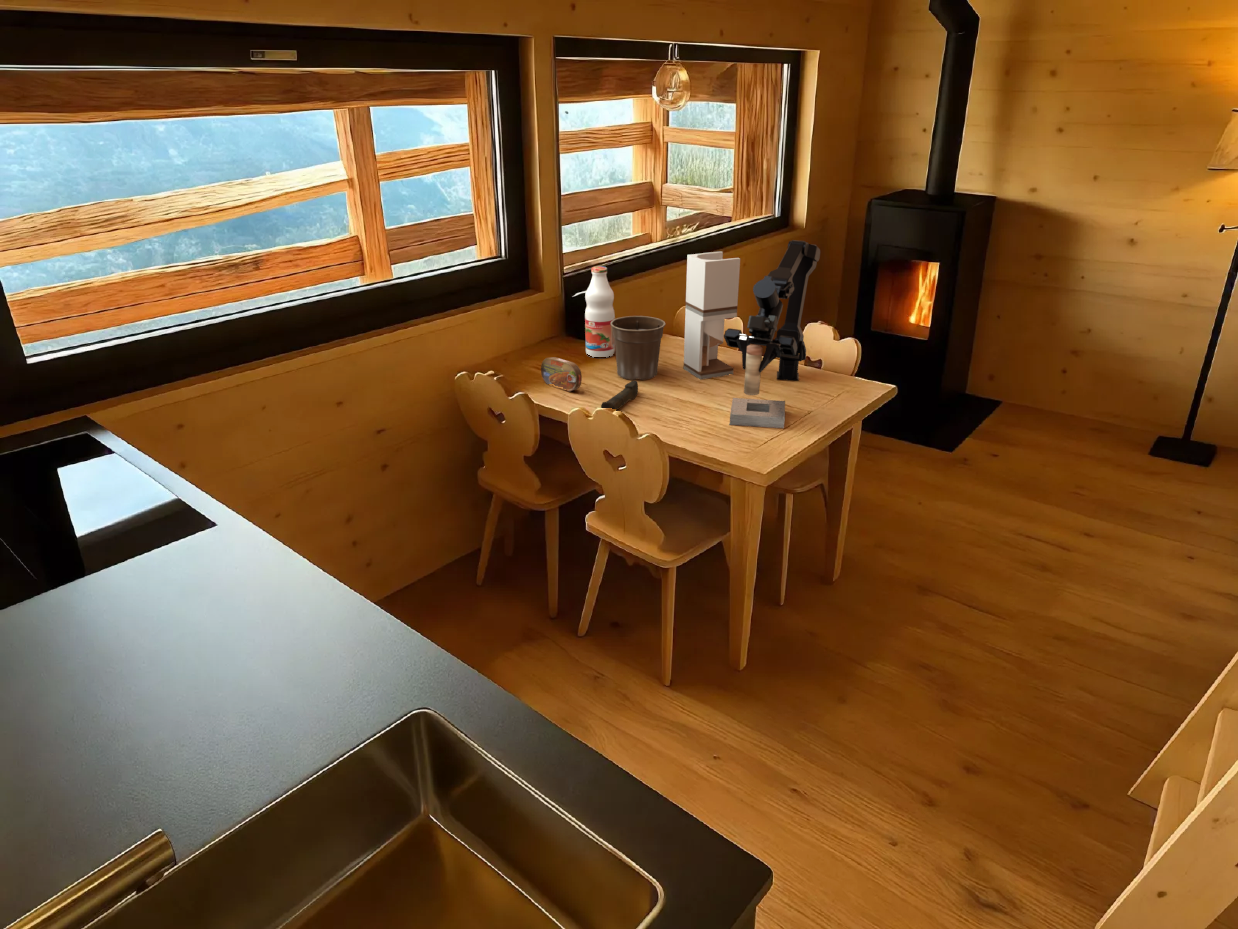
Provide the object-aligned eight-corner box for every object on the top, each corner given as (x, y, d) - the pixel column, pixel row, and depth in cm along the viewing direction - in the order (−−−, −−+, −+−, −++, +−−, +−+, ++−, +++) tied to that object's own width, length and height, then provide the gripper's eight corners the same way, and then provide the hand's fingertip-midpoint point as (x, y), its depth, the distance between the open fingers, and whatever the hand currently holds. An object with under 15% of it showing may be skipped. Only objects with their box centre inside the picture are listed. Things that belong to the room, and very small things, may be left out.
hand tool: (613, 417, 226) (613, 401, 224) (600, 414, 228) (600, 398, 226) (646, 395, 241) (646, 380, 239) (633, 393, 243) (633, 377, 241)
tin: (540, 382, 250) (539, 355, 247) (548, 379, 252) (547, 353, 249) (576, 394, 241) (575, 366, 237) (583, 392, 243) (583, 364, 240)
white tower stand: (700, 379, 252) (705, 261, 237) (683, 368, 261) (687, 254, 246) (733, 374, 257) (740, 258, 241) (715, 363, 265) (721, 251, 250)
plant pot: (630, 362, 267) (630, 312, 260) (674, 371, 259) (675, 320, 252) (600, 376, 255) (599, 324, 248) (645, 387, 247) (645, 333, 240)
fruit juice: (620, 353, 275) (620, 267, 263) (602, 360, 268) (601, 272, 256) (598, 347, 280) (597, 263, 268) (579, 354, 274) (577, 268, 262)
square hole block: (732, 407, 232) (732, 397, 230) (783, 411, 229) (784, 401, 228) (729, 424, 221) (730, 414, 220) (783, 428, 219) (784, 417, 217)
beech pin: (742, 390, 225) (745, 345, 219) (757, 389, 225) (760, 344, 219) (745, 395, 221) (748, 349, 216) (760, 395, 221) (764, 349, 216)
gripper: (728, 298, 220) (710, 350, 216) (798, 306, 212) (781, 361, 208) (736, 320, 230) (720, 370, 225) (803, 328, 222) (788, 381, 218)
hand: (751, 370), depth 219 cm, fingers closed on beech pin, 4 cm apart
